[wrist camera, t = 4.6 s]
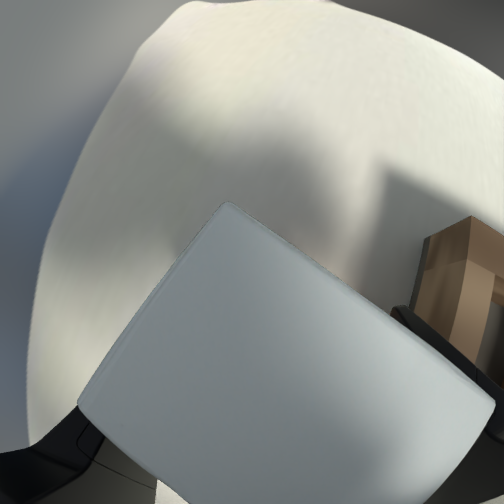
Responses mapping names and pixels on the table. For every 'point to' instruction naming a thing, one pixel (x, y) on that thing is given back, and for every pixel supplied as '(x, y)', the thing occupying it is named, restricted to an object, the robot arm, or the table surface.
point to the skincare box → (279, 383)
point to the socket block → (465, 292)
